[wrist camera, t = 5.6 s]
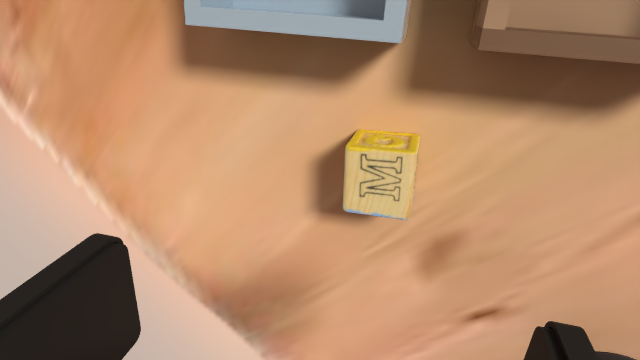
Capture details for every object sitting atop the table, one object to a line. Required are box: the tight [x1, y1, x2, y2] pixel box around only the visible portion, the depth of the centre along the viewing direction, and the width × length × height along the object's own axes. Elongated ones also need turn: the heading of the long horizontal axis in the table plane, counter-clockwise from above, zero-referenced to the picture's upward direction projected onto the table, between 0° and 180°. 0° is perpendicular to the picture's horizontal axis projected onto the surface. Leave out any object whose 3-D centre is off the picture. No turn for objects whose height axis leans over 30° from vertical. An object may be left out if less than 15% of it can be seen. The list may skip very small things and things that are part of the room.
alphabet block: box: [342, 130, 420, 220], centre depth 19 cm, size 3×3×3 cm
